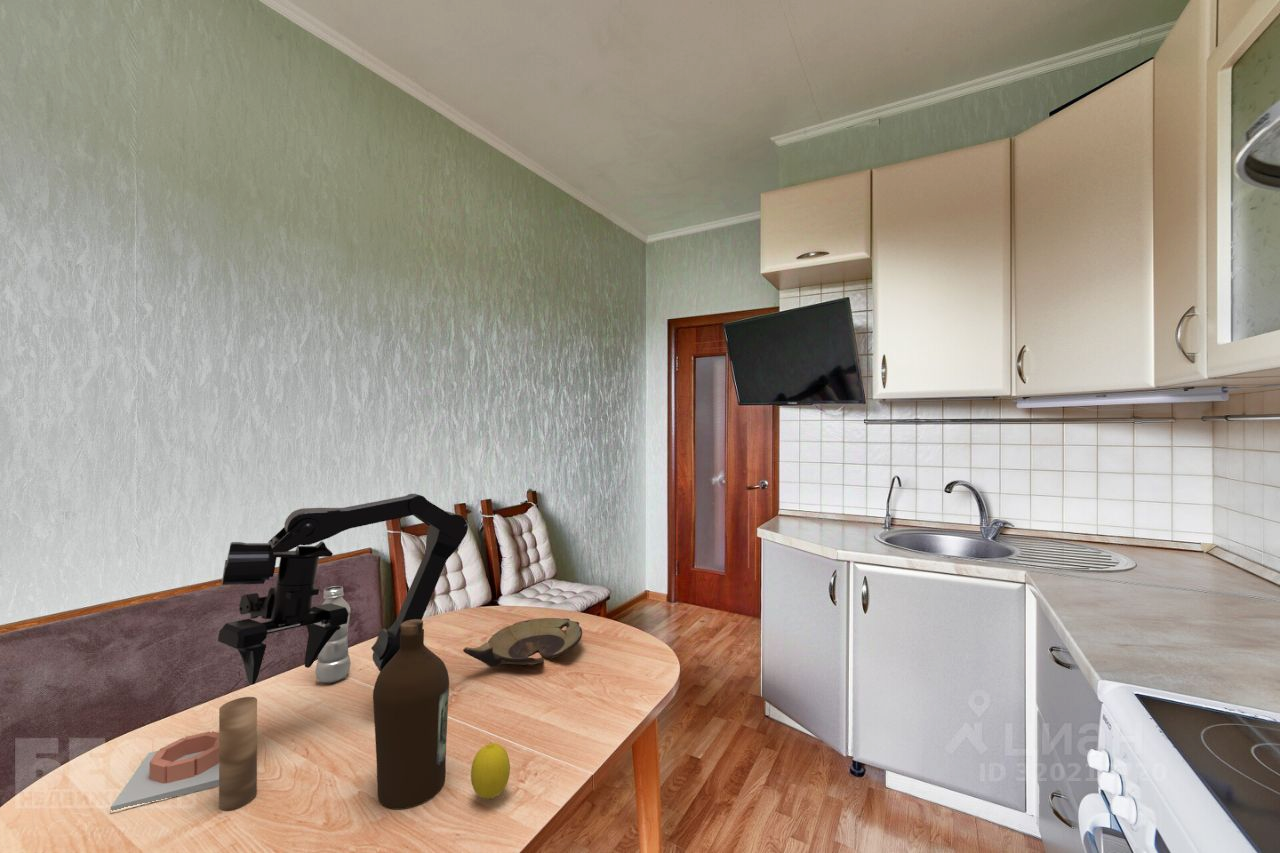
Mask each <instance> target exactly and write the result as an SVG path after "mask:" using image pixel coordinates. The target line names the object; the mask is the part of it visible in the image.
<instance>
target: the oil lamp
mask: <svg viewBox="0 0 1280 853" xmlns="http://www.w3.org/2000/svg"><path fill="white" fill-rule="evenodd" d="M565 627H566V628H565ZM563 628H565V629H564V630H563ZM582 637H583V629H582V627H581V626H580V622H579V621H573V620H570V619H569V618H558V617H543V618H542V617H541V618H533V619H532V618H531V619H528V620H521V621H518V622H515V623H512V624H511V625H507V626H505V627H503V628H502V629H500V630H498V631H496V632H495V633H494V634H492V636H490V638H489V639H488V641H487V642H483V644H481V645H480V646H478V647H468V646H465V647H464V648H463V650H462V651H463V653H465V654H466V655H468V656H470V657H473V659H476V660H478V661H479V662H482V663H483V664H485V665H486V666H489V667H493V668H494V667H498V666H500V665H504V664H505V665H507V664H509V665H533V664H539V663H542V662H544V661H545V659H547V660H549V659H553V658H556V657H560V656H562V655H564V654H565V653H568V652H570V651H571V650H572V649H573V648H574V647H575V646H577V644H578V643H579V642H580V641H581V638H582ZM536 652H539V653H540V655H541V657H529V656H532V655H533V654H535V653H536Z"/></svg>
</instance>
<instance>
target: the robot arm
mask: <svg viewBox="0 0 1280 853" xmlns="http://www.w3.org/2000/svg"><path fill="white" fill-rule="evenodd" d="M410 516H413V517H415V518H416V519H417V520H419V521H421V522H422V523H424V524H425V525H427V526H428V528H427V532H426V537H425V538H426V540H425V551H424V554H423V557H422V559H421V561H420V564H419V566H418V568H417V570H416V573H415V575H414V578H413V579H412V582H411V584H410V586H409V590H408V591H407V593H406V596H405V599H404V601H403V603H402V605H401V607H400V610H399V612H398V615H397V617H396V619H395V621H394V622H393V623H392V625H391V626H390V627H389V628H388V629H385V628H382V627H381V628H380V629H379V630H378V631H379V632H378V635H377V638H376V641H375V643H373V645H372V647H371V648H370V649H371V650H372V661H373V663H374V665H375V666H376V668H377V669H378V671H379V673H380V672H381V670H382V669H383V668H384V667H385V665H386V664H387V663H388V662H389V661H390V660H391V659H392V658H393V656H394V655H395V654H396V653H397V652H398V651H399V649H400V632H401V623H403V622H405V621H408V620H413V619H419V620H422V621H423V618H424V616H425V613H426V611H427V608H428V606H429V603H430V601H431V600H432V597H433V594H434V591H435V589H436V587H437V585H438V583H439V579H440V577H441V575H442V572H443V570H444V567H445V565H446V563H447V561H448V559H449V558H450V557H451V556H452V555H453V554H454V553H455V552H456V551H457V550H458V549H459V547H460V546H461V544H462V543H463V541H464V539H465V537H466V536H467V533H468V530H469V526H468V523H467V520H466V519H465V518H464V517H463V516H461V515H460V514H457V513H454V512H451V511H445V510H444V509H442V508H440V507H439V506H437V505H435V503H432V502H431V501H429V500H427V498H426V497H425V496H424V495H422V494H417V493H409V494H407V495H403V496H399V497H392V498H388V499H383V500H378V501H372V502H366V503H362V504H357V505H350V506H345V507H310V508H309V507H307V508H306V507H304V508H303V507H302V508H299V509H295V510H294V511H292V512H291V513H290V514H289V515H288V516H287V517H286V519H285V522H284V527H282V528H281V530H279V531H278V532H277V533H275V535H274V536H272V538H270V540H268V542H266V543H265V542H262V543H261V542H260V543H257V542H255V543H254V542H252V543H249V542H247V543H246V542H242V541H241V542H240V541H232V542H230V544H229V549H228V553H227V558H226V559H225V562H224V567H223V571H222V577H221V578H222V580H221V586H238V585H262V584H263V585H265V582H266V581H269V580H270V578H274V574H275V570H276V564H277V559H278V558H279V564H278V570H277V575H276V576H277V577H276V581H275V586H271V587H270V589H269V590H268V594H267V596H262V597H261V596H260V595H259V593H258V592H254V593H249V594H244V595H241V597H240V603H239V604H238V605H239V606H238V607H239V610H238V611H239V613H240V615H242V616H243V615H248V614H250V615H249V616H250V618H246V619H241V620H236V621H235V620H234V621H231V622H230V621H229V622H226V623H224V625H223V626H221V628H220V629H219V632H218V637H217V642H219V643H221V644H225V645H227V646H228V647H231V648H233V649H236V650H237V651H238V653H239V654H240V657H241V660H242V664H243V666H244V671H245V674H246V679H247V682H248V684H249V685H255V684H256V682H257V679H258V678H259V674H260V670H261V667H262V664H263V659H264V655H265V652H266V649H267V644H266V643H264V641H265V640H266V639H267V636H268V635H269V634H273V633H277V632H283V631H286V630H292V629H295V628H300V627H304V626H306V628H307V629H306V630H307V632H308V636H307V642H306V643H307V644H306V649H305V654H304V655H305V656H304V667H305V668H307V669H308V668H311V667H312V665H313V664H314V662H315V661H316V660H317V659H318V655H319V653H320V652H321V650H322V649H323V647H324V646H325V645H326V643H327V642H328V641H329V639H330V638H331V637H332V635H333V634H334V633H335V632H336V631H337V630H339V629H340V628H341V626H339V625H343V624H347V622H348V615H349V613H348V611H347V609H346V607H342V606H339V605H335V604H332V603H328V604H323V603H322V604H323V605H322V604H319V605H314V606H312V605H313V604H312V603H313V599H314V598H313V597H314V596H317V595H319V591H320V588H317V587H315V586H316V578H317V573H318V572H317V571H318V567H319V566H318V565H319V561H320V558H321V557H322V558H324V557H326V558H327V557H328V558H331V557H332V556H333V554H334V553H333V552H332V551H331V550H330V549H329V548H328V547H327V545H326V543H325V542H324V540H326V539H330V538H332V537H334V536H336V535H338V534H340V533H342V532H344V531H347V530H350V529H354V528H359V527H363V526H367V525H373V524H378V523H383V522H387V521H392V520H397V519H402V518H405V517H410ZM316 543H317V544H316ZM313 544H316V545H313ZM294 548H295V550H293V549H294ZM259 617H261V619H264V620H269V621H264V622H260V621H256V620H254V619H257V618H259Z"/></svg>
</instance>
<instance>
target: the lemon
mask: <svg viewBox="0 0 1280 853" xmlns="http://www.w3.org/2000/svg"><path fill="white" fill-rule="evenodd" d="M470 771H471V772H470V781H471V786H472V788H473V790H474V792H475V794H477V795H478V796H479V797H481V798H482V799H483V798H484V799H489V800H492V799H493V798H495V797H497V796H498V795H500V794H501V793H502V792H503V790H504V789H505V788H506V786H507V784H508V782H509V778H510V773H511V772H510V771H511V763H510V758H509V755H508V752H507V750H506V749H505V747H504V746H502V745H501V744H499V743H494V742H489V743H488V744H485V745H484V746H482V747H481V748H480V749H478V751H477V752H476V754H475V756H474V758H473V760H472V765H471V770H470Z"/></svg>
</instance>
